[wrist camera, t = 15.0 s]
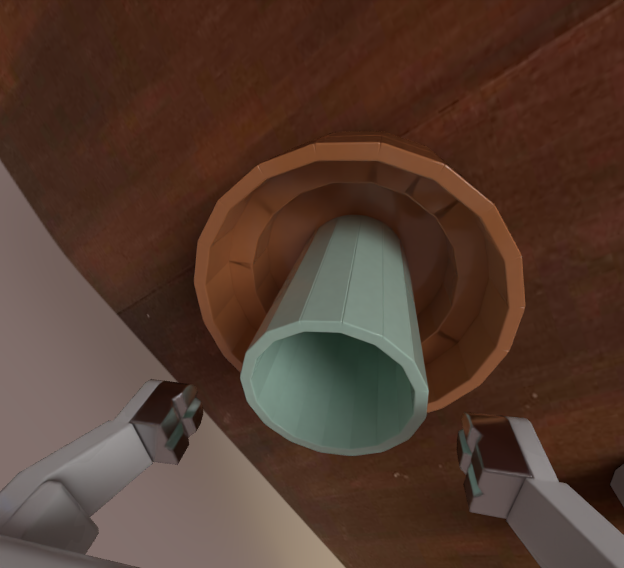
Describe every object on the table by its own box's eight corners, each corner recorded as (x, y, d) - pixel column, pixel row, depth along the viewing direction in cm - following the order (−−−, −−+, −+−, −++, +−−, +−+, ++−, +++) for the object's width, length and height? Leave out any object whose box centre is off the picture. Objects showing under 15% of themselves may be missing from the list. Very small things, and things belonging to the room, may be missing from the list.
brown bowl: (229, 309, 23) (185, 368, 18) (267, 91, 16) (211, 84, 10) (412, 375, 23) (421, 453, 18) (541, 184, 15) (621, 223, 10)
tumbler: (293, 287, 20) (229, 419, 12) (320, 199, 17) (259, 292, 9) (381, 318, 20) (381, 475, 12) (425, 235, 17) (467, 366, 8)
